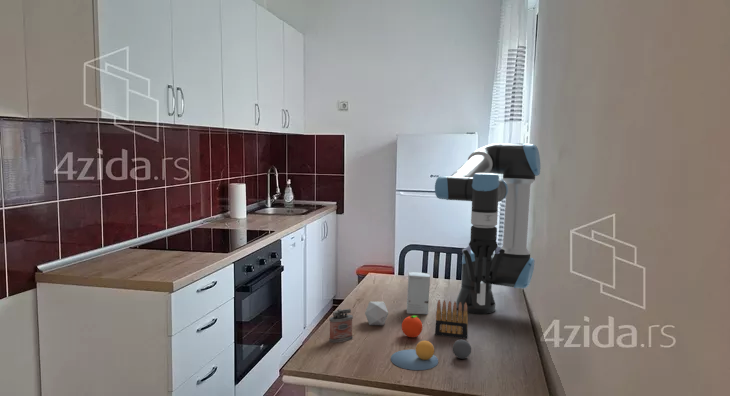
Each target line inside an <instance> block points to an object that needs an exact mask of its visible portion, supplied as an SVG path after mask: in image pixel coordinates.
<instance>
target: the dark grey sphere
mask: <svg viewBox="0 0 730 396" xmlns="http://www.w3.org/2000/svg"><path fill="white" fill-rule="evenodd" d="M452 352H453V354H454V356H455V357H456V358H458V359H461V360H463V359H467V358H468V357H470V355H471V353H472V347H471V345H470V343H469V342H468V341H467V340H465V339H458V340H456V341H454V343H453V344H452Z"/></svg>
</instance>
